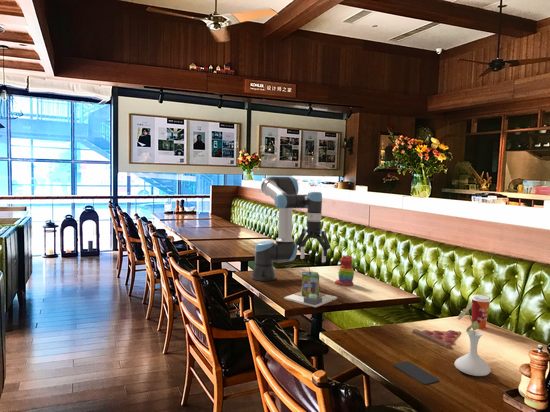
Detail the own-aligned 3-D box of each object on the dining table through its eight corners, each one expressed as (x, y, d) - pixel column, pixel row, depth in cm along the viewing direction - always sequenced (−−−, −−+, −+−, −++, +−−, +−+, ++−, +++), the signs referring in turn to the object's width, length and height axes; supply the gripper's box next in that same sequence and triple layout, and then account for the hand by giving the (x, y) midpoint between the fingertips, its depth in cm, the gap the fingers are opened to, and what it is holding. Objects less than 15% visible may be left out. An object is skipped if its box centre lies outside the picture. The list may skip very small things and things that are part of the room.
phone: (424, 384, 134) (392, 364, 148) (424, 386, 134) (391, 366, 148) (440, 380, 137) (408, 360, 151) (440, 382, 137) (407, 362, 151)
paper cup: (482, 331, 185) (484, 300, 184) (465, 325, 191) (467, 295, 190) (491, 327, 189) (493, 297, 188) (475, 322, 195) (477, 293, 194)
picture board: (284, 299, 222) (284, 292, 222) (306, 291, 239) (306, 285, 239) (315, 307, 210) (315, 300, 210) (336, 298, 226) (337, 292, 226)
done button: (307, 299, 215) (307, 295, 215) (311, 298, 218) (312, 293, 218) (314, 301, 212) (314, 296, 212) (318, 299, 215) (319, 295, 215)
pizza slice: (411, 329, 180) (442, 322, 190) (411, 334, 180) (442, 327, 190) (448, 344, 164) (480, 336, 174) (447, 350, 164) (479, 342, 174)
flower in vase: (468, 361, 153) (472, 294, 151) (497, 375, 143) (502, 303, 141) (443, 368, 147) (448, 298, 145) (472, 383, 137) (477, 308, 135)
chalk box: (318, 296, 225) (320, 269, 224) (301, 296, 225) (302, 269, 224) (317, 292, 234) (318, 266, 233) (301, 291, 234) (302, 265, 233)
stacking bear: (348, 281, 264) (350, 253, 263) (357, 285, 255) (358, 257, 253) (333, 282, 260) (334, 254, 259) (341, 287, 251) (342, 257, 250)
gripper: (291, 219, 227) (289, 258, 229) (330, 223, 212) (329, 264, 213) (299, 218, 233) (297, 256, 235) (338, 222, 218) (336, 262, 219)
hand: (312, 260), depth 224 cm, fingers open, 13 cm apart
